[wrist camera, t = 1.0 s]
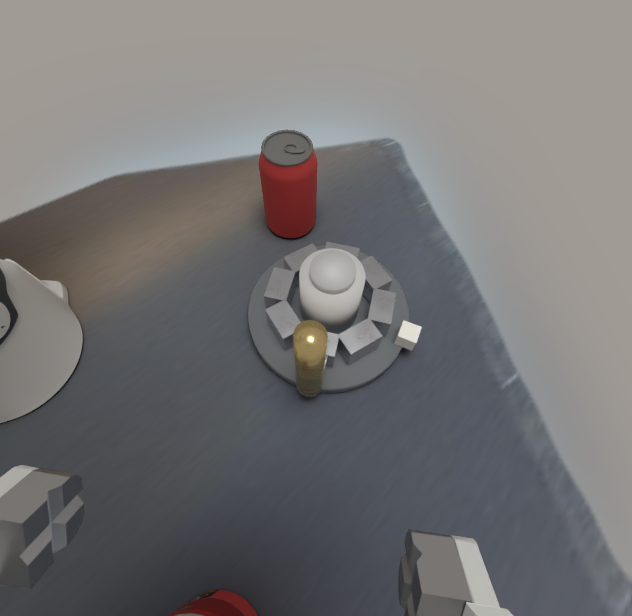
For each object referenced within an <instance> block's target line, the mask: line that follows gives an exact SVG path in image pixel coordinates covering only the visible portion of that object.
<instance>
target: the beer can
mask: <svg viewBox="0 0 632 616" xmlns="http://www.w3.org/2000/svg"><path fill="white" fill-rule="evenodd" d="M261 149H262V151H261V154H260V158H259V169H260V177H261V184H262V192H263V199H264V207H265V214H266V221H267V225H268V227H269V228H270V230H271V231H272V232H274V233H275V234H276V235H278V236H281V237H284V238H297V237H301V236H303V235H305V234H307V233H308V232H309V231H310V230H311V229H312V228H313V226H314V224H315V219H316V192H317V159H316V155H315V152H314V150H313V144H312V141H311V140H310V139H309V138H308V136H306V135H304V134H303V133H301V132H298V131H294V130H281V131H277V132H274V133H272V134H270V135H269V136H268V137H266V139H265V140H264V141H263V143H262V147H261Z"/></svg>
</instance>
